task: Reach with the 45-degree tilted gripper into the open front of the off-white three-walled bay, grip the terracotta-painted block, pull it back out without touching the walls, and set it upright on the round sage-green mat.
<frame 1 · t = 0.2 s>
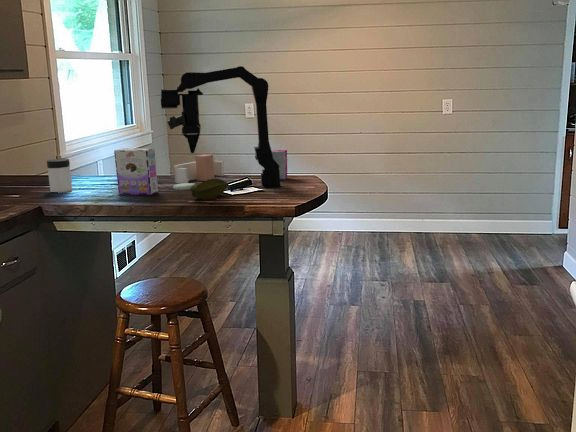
hand: (192, 151, 229), 15 cm above the breakfast bar, tool pointing down, fingers open, 9 cm apart
fruit: (209, 198, 217), on the breakfast bar
bay: (205, 179, 255), on the breakfast bar
block: (205, 179, 255), on the breakfast bar
supplement box: (279, 179, 250), on the breakfast bar
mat: (185, 187, 238), on the breakfast bar
candy box: (138, 193, 231), on the breakfast bar
jar: (61, 191, 242), on the breakfast bar
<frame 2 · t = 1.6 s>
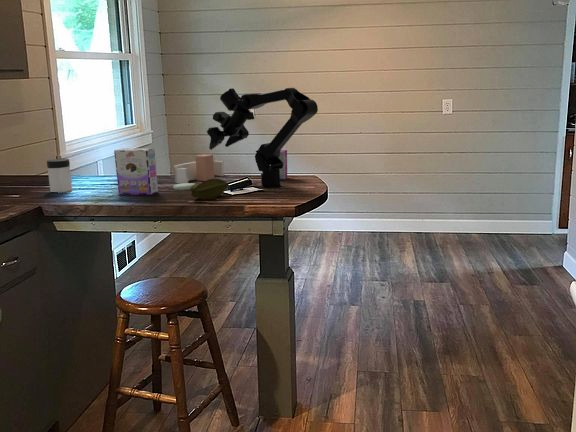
hand: (218, 147, 247), 13 cm above the breakfast bar, tool tilted 45°, fingers open, 9 cm apart
nothing on the breakfast bar moved.
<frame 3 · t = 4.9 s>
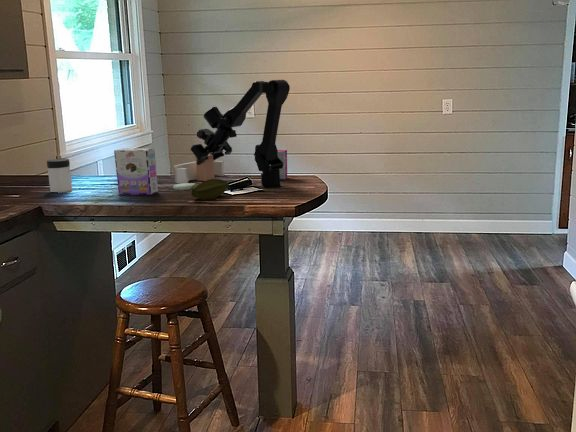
hand: (202, 163, 254), 7 cm above the breakfast bar, tool tilted 45°, fingers closed on block, 5 cm apart
block: (205, 179, 255), on the breakfast bar, touching gripper
everything else where it was.
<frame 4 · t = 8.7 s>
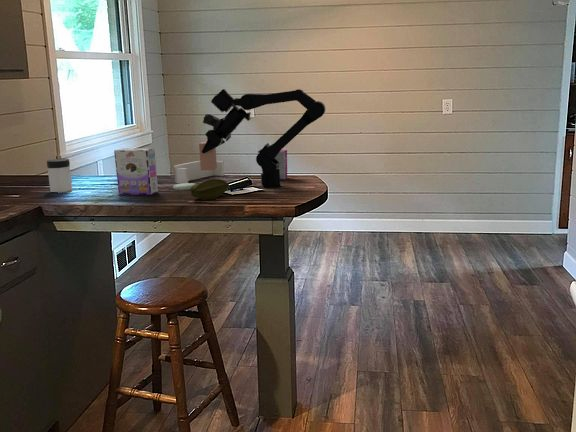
hand: (204, 151, 235), 13 cm above the breakfast bar, tool tilted 45°, fingers closed on block, 5 cm apart
block: (208, 169, 236), point 7 cm above the breakfast bar, touching gripper
everything else where it was.
when the fingers open (9 cm above the breakfast bar, at t = 11.5 s): block drops 1 cm, resting on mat.
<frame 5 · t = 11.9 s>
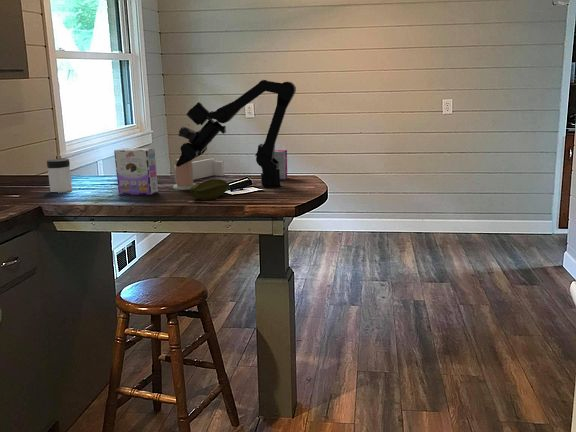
hand: (180, 164, 237), 9 cm above the breakfast bar, tool tilted 45°, fingers open, 9 cm apart
block: (185, 185, 238), point 1 cm above the breakfast bar, touching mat
everything else where it was.
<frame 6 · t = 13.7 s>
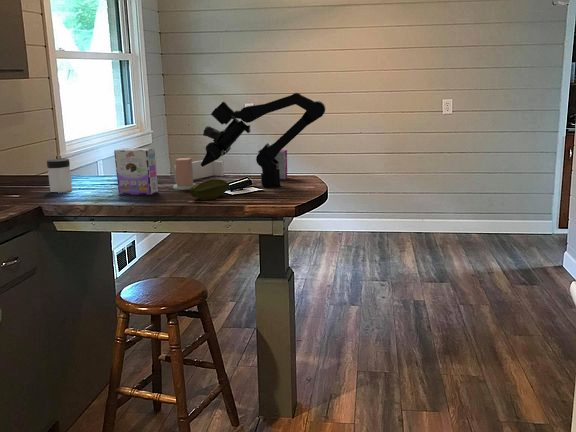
hand: (204, 164, 236), 9 cm above the breakfast bar, tool tilted 45°, fingers open, 9 cm apart
nothing on the breakfast bar moved.
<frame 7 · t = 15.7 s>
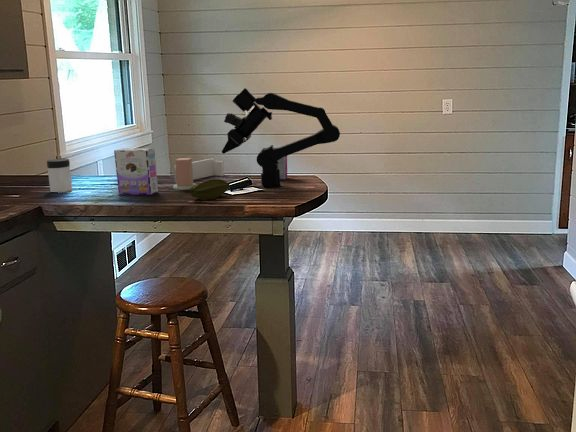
hand: (225, 151, 233), 14 cm above the breakfast bar, tool tilted 45°, fingers open, 9 cm apart
nothing on the breakfast bar moved.
at the end: block 0.0 cm off-centre on the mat, point 1.0 cm above the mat's base; block tilted 0°; the gripper is holding nothing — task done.
